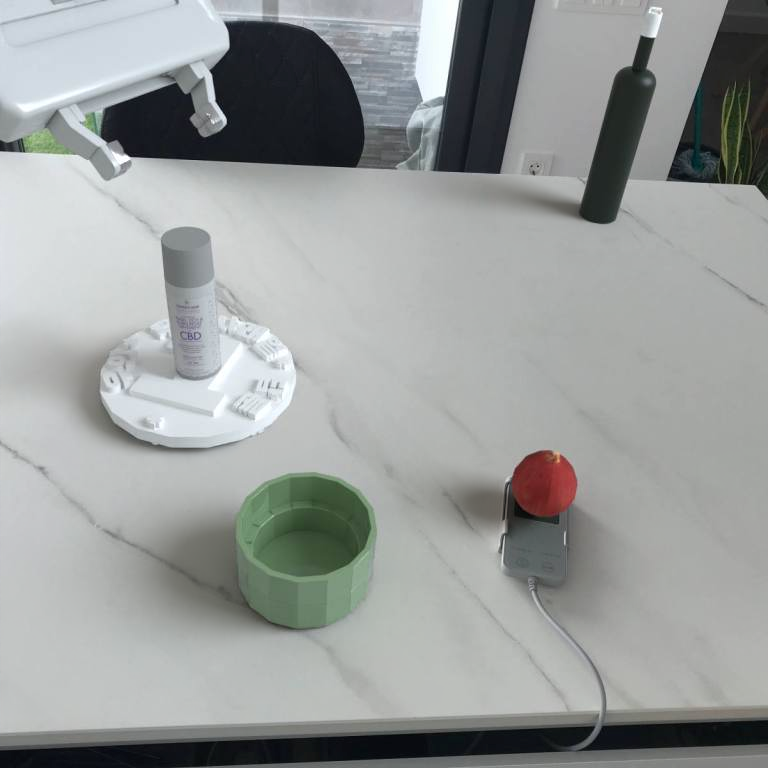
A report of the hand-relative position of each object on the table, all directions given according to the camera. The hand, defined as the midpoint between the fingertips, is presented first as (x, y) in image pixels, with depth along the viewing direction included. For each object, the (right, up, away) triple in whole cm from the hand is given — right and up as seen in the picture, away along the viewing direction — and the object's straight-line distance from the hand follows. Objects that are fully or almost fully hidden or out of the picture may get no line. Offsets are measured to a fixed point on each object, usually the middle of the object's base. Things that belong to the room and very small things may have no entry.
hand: (171, 151), depth 54 cm
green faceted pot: (+8, -32, +12) cm, 35 cm away
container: (-5, -14, +27) cm, 31 cm away
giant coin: (-5, -17, +29) cm, 34 cm away
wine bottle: (+48, +10, +67) cm, 83 cm away
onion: (+29, -28, +19) cm, 45 cm away
